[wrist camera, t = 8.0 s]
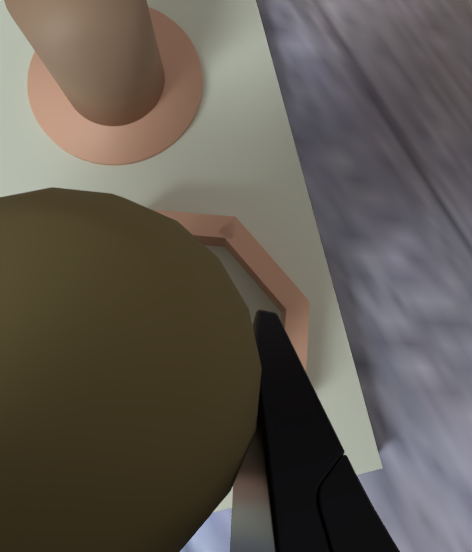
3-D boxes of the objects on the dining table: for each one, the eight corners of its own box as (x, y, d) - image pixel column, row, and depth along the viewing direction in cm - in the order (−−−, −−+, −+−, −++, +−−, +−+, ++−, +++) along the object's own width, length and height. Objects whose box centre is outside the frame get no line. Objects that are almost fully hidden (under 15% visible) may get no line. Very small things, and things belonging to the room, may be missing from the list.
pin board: (373, 460, 16) (457, 533, 10) (39, 546, 16) (-78, 678, 10) (236, -51, 19) (239, -224, 13) (-49, 4, 19) (-180, -152, 13)
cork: (247, 266, 16) (292, 97, 5) (257, 436, 15) (343, 720, 4) (83, 274, 15) (-270, 119, 4) (83, 446, 14) (-356, 776, 4)
